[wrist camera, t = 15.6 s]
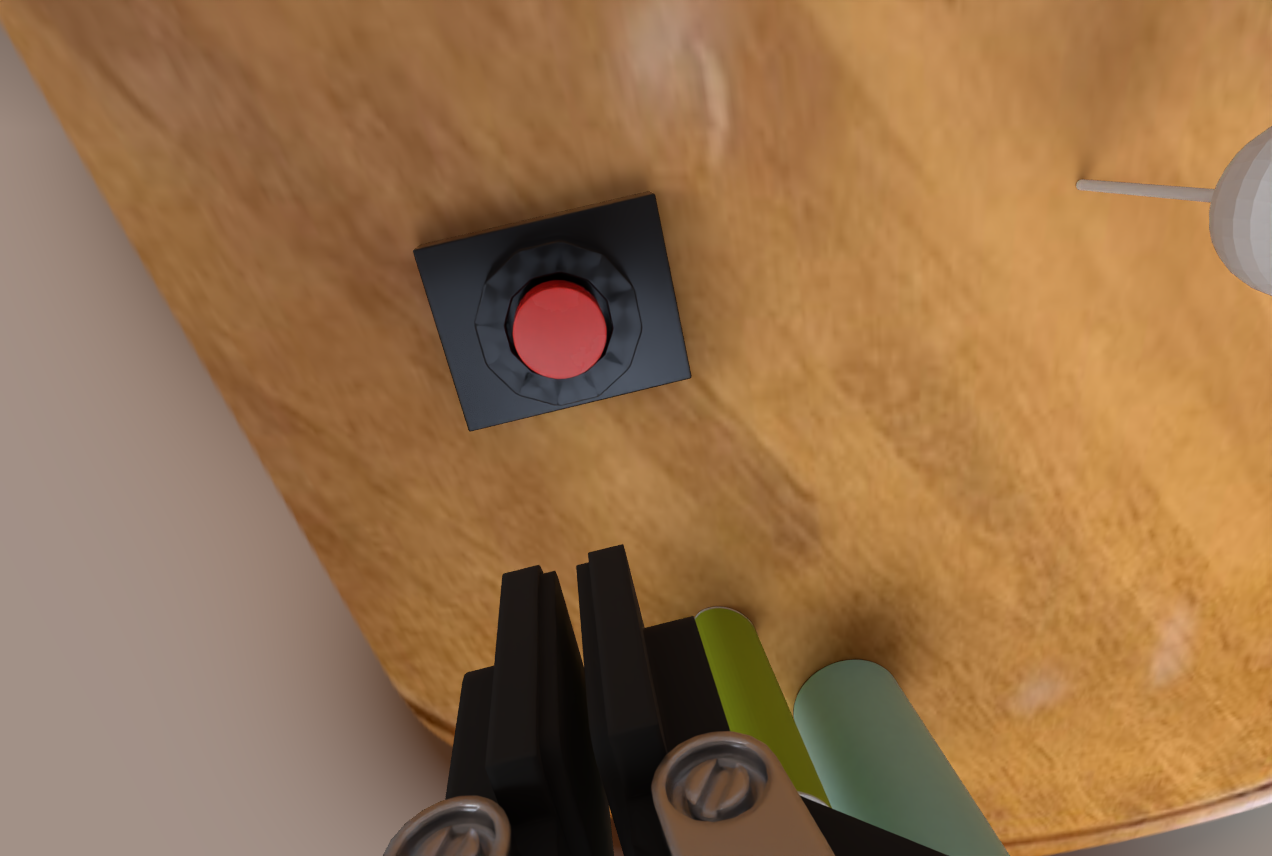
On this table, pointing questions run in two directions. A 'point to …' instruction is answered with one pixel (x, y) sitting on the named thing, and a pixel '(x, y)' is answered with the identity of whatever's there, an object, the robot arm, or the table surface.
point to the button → (559, 329)
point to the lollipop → (1228, 210)
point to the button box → (543, 251)
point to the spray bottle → (886, 761)
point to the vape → (755, 694)
